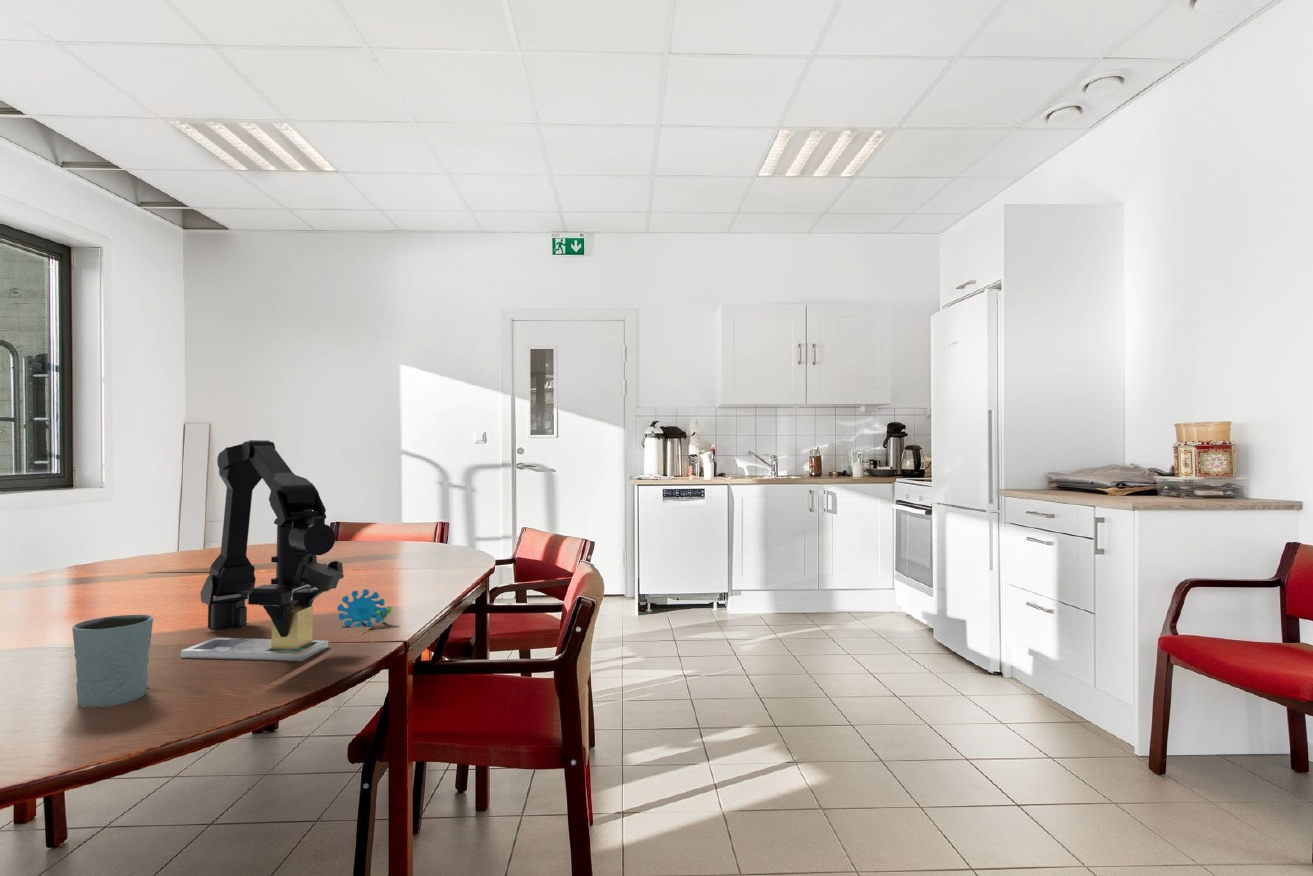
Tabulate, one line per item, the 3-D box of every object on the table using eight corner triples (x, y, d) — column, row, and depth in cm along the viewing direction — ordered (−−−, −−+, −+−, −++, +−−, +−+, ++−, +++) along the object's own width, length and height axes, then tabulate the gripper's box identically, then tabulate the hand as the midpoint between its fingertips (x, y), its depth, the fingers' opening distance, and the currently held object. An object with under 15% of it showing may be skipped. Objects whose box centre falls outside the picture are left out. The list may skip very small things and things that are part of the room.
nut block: (271, 649, 131) (271, 609, 131) (287, 641, 136) (287, 604, 136) (297, 649, 131) (298, 610, 131) (312, 642, 136) (312, 604, 136)
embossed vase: (86, 714, 104) (88, 632, 104) (59, 701, 110) (60, 623, 110) (163, 694, 113) (165, 618, 113) (134, 683, 118) (136, 610, 118)
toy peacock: (332, 625, 151) (342, 585, 158) (332, 639, 155) (342, 600, 162) (386, 629, 154) (394, 590, 161) (385, 643, 158) (393, 604, 165)
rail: (180, 661, 130) (180, 650, 130) (214, 647, 139) (214, 637, 139) (301, 665, 128) (302, 654, 128) (328, 651, 137) (328, 640, 137)
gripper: (307, 558, 124) (306, 648, 123) (359, 544, 142) (357, 622, 142) (246, 557, 124) (244, 646, 124) (305, 542, 143) (304, 620, 143)
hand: (292, 633), depth 133 cm, fingers closed on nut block, 5 cm apart
